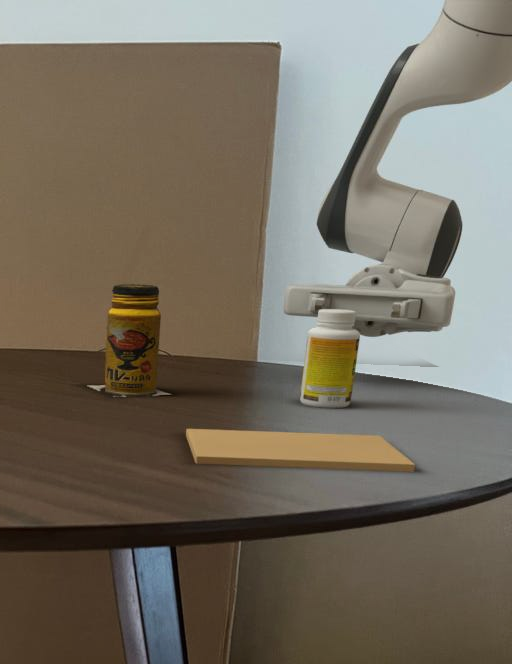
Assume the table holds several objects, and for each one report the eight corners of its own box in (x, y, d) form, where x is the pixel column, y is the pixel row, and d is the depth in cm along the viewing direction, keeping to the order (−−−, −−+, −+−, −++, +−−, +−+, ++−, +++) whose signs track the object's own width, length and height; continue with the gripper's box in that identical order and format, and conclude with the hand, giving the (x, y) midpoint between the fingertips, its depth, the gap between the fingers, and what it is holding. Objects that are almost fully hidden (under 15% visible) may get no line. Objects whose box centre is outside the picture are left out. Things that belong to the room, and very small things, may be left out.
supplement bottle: (356, 410, 113) (370, 313, 109) (306, 409, 113) (318, 312, 109) (342, 401, 118) (354, 308, 114) (294, 400, 118) (305, 307, 114)
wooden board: (378, 444, 96) (380, 435, 96) (413, 473, 85) (415, 464, 85) (185, 436, 97) (186, 428, 97) (195, 465, 86) (196, 455, 86)
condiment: (114, 398, 117) (120, 287, 112) (85, 387, 124) (90, 282, 119) (171, 396, 119) (180, 287, 114) (140, 385, 126) (147, 282, 122)
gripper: (300, 271, 136) (273, 275, 125) (464, 279, 128) (451, 284, 117) (294, 320, 139) (267, 329, 127) (454, 331, 130) (441, 341, 119)
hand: (356, 307), depth 122 cm, fingers open, 8 cm apart
